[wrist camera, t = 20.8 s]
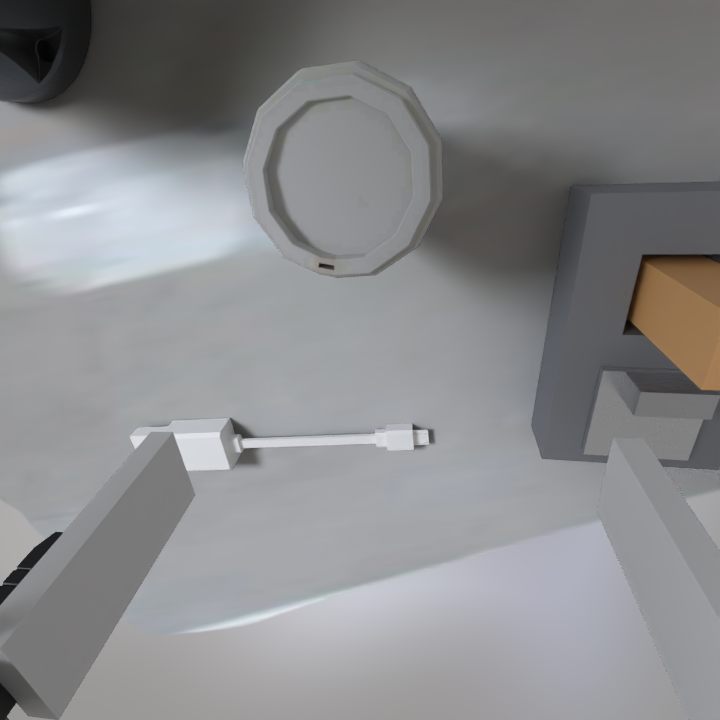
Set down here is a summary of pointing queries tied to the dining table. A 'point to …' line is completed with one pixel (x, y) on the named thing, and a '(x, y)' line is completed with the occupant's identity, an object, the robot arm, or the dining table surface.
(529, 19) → the dining table surface
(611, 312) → the socket box
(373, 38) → the dining table surface
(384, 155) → the disposable coffee cup
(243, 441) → the charging cable
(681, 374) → the shutter
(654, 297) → the plug
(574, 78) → the dining table surface
